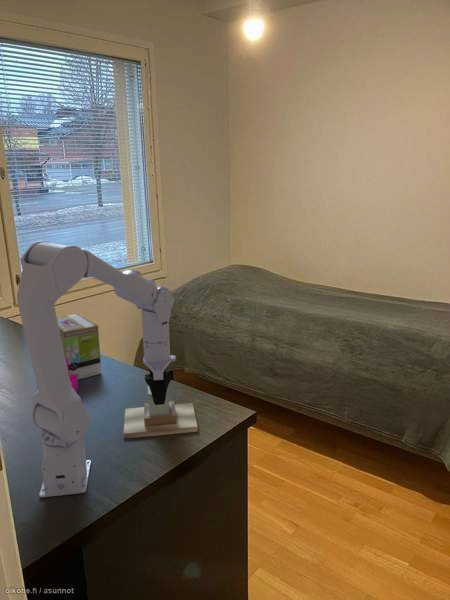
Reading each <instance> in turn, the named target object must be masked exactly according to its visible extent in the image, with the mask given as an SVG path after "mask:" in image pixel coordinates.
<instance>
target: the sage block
mask: <svg viewBox="0 0 450 600" xmlns="http://www.w3.org/2000/svg"><path fill="white" fill-rule="evenodd" d="M169 399H170V395H169V387H168V388H167V392H166V399H165V403H164V404H162V405H155V404H154V401H153V397H152V393H151V390H150V388H149V386H148V385H147V403H148V406H149V415H153V414H165V413H169V401H170V400H169Z"/></svg>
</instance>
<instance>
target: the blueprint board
mask: <svg viewBox="0 0 450 600" xmlns="http://www.w3.org/2000/svg"><path fill="white" fill-rule="evenodd" d="M143 404H144V405H143V406H141V407H131V408H130V407H129V408H124V409H125V412H124V421H123V422H124V424H123V434H122V435H123V439H131V438H132V439H134V438H144V437H154V436H163V435H164V436H165V435H166V436H167V435H174V434H186V433H196V432H198V431H199V430H198V429H199V428H198V423H197V421H198V420H197V418H196V412H195V408H194V403H193V402H190V403H189V402H186V403H177V404H175V400H169V413H165V414H153V415H149V406H148V402H147V403H145V402H144V403H143Z"/></svg>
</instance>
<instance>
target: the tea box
mask: <svg viewBox="0 0 450 600" xmlns="http://www.w3.org/2000/svg"><path fill="white" fill-rule="evenodd" d="M56 317H57V321H58V326H59V331H60V336H61V340H62V345H63V350H64V355H65V357H66V358H67V357H68V366H69V375H77V381H79V380H83V379H87V378H90V377H93V376H96V375H97V376H98V375H100V374H102V362H101V349H100V335H99V325H98V324H96V322H93V321H92V320H90V319H88V318H87V317H85V316H83V315H81V314H80V313H75V314H74V313H73V314H68V315H63V316H56Z"/></svg>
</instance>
